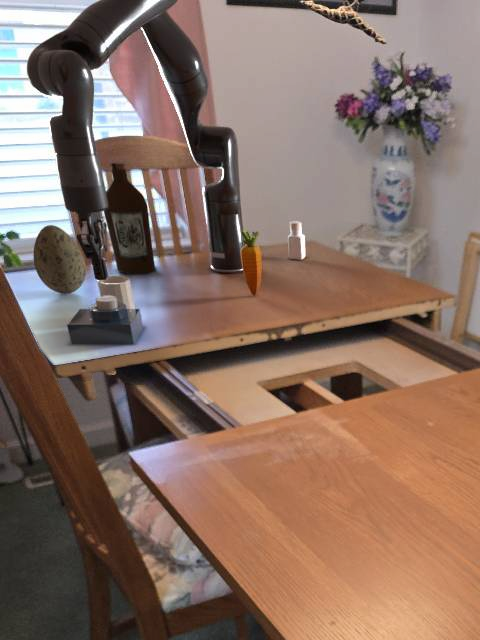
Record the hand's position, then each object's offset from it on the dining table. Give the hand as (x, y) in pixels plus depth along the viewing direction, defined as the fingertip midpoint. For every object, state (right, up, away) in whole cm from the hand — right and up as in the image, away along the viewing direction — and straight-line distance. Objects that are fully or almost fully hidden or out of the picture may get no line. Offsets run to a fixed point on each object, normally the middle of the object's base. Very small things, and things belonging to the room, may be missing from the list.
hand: (102, 278), depth 139 cm
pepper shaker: (+29, +29, +62) cm, 74 cm away
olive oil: (-11, +20, +47) cm, 52 cm away
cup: (-3, -3, +16) cm, 16 cm away
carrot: (+23, +8, +32) cm, 40 cm away
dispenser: (-1, -10, +6) cm, 11 cm away
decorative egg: (-21, +7, +28) cm, 36 cm away
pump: (0, -5, +3) cm, 6 cm away
